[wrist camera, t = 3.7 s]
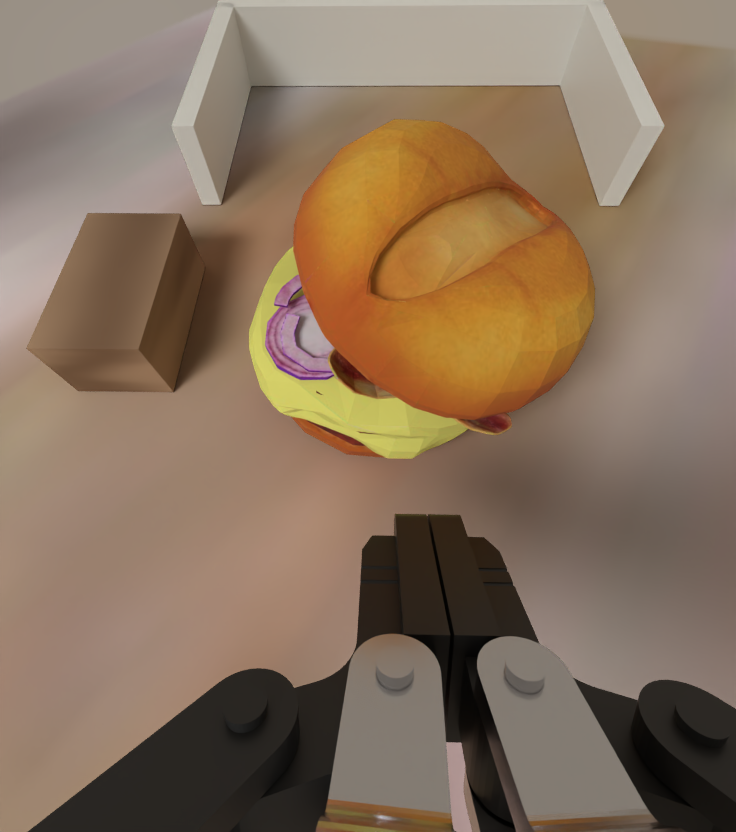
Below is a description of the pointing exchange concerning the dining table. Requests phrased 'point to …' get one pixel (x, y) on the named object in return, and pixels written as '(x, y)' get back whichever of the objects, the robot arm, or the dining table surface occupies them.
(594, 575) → the dining table surface
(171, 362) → the cardboard carton
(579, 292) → the cheeseburger
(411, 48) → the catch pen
